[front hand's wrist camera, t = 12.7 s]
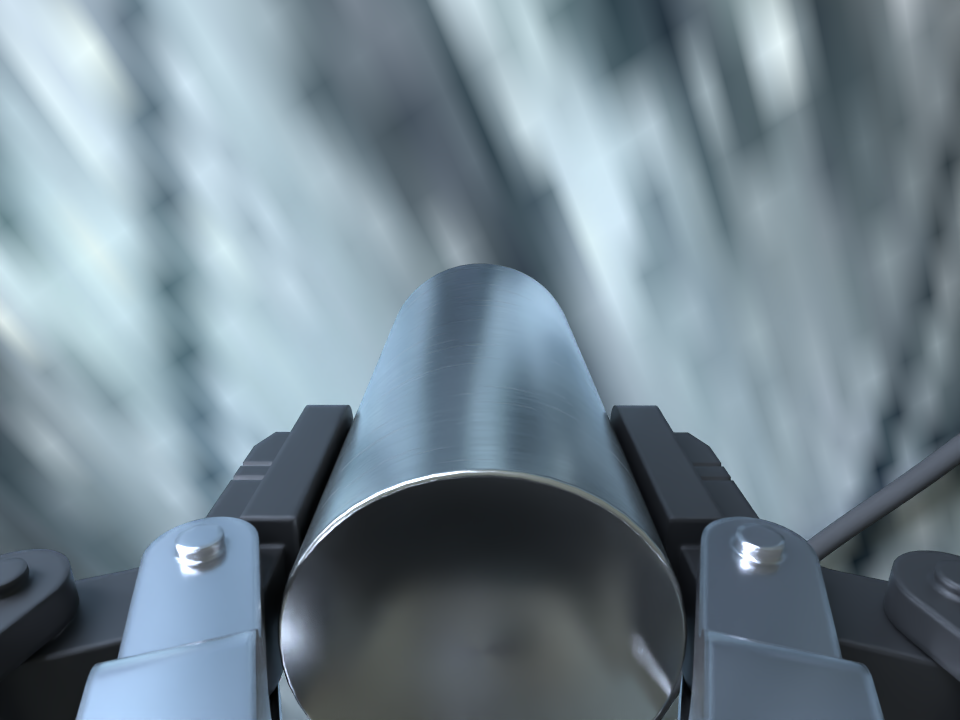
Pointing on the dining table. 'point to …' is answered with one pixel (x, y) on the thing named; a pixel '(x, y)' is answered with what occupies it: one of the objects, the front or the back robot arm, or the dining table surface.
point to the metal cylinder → (482, 532)
